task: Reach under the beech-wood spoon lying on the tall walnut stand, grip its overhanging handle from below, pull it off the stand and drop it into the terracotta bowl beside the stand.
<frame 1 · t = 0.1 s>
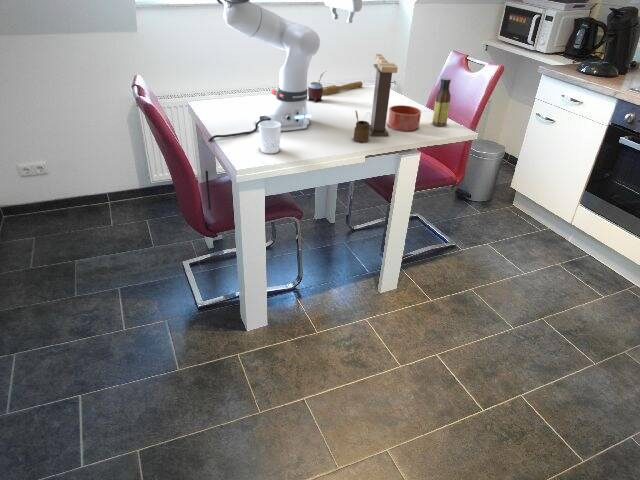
hand: (342, 20, 198), 39 cm above the table, tool pointing down, fingers open, 8 cm apart
bowl: (402, 126, 210), on the table
spoon: (387, 70, 184), point 26 cm above the table, touching stand
white cup: (270, 150, 180), on the table
mate gourd: (315, 100, 235), on the table
wooden mate cup: (360, 140, 193), on the table
stand: (377, 131, 202), on the table
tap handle: (340, 91, 251), on the table
sauce bottle: (438, 124, 214), on the table
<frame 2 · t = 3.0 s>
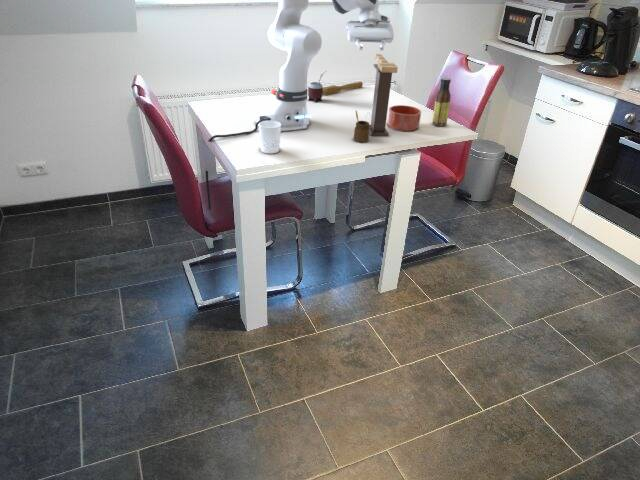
hand: (371, 49, 212), 27 cm above the table, tool tilted 45°, fingers open, 8 cm apart
nothing on the table moved.
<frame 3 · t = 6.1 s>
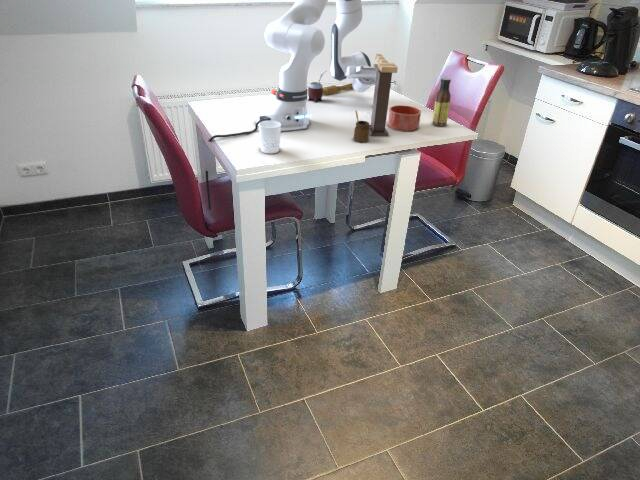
hand: (372, 67, 210), 21 cm above the table, tool pointing upward, fingers open, 8 cm apart
nothing on the table moved.
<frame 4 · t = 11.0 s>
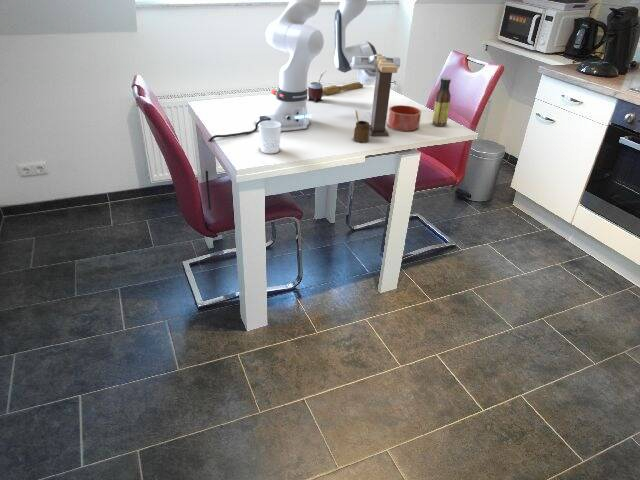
hand: (379, 57, 196), 27 cm above the table, tool pointing upward, fingers closed on spoon, 2 cm apart
spoon: (387, 70, 184), point 26 cm above the table, touching gripper, stand
everything else where it was.
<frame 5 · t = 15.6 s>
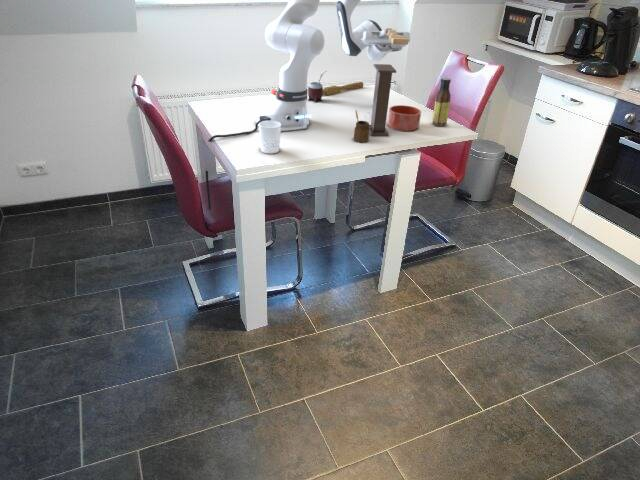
hand: (390, 31, 202), 36 cm above the table, tool pointing upward, fingers closed on spoon, 2 cm apart
spoon: (398, 42, 190), point 34 cm above the table, touching gripper
everything else where it was.
when the fingers open (20 cm above the table, at t = 20.4 s): spoon drops 15 cm and tips over, resting on bowl.
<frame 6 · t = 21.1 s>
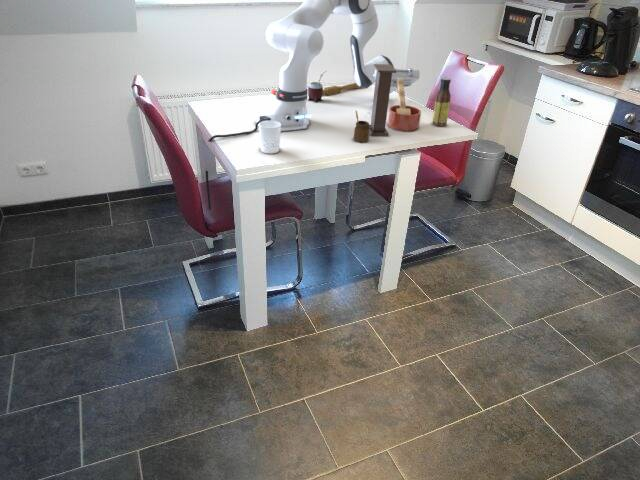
hand: (401, 69, 211), 20 cm above the table, tool pointing upward, fingers open, 8 cm apart
spoon: (402, 117, 209), point 3 cm above the table, tilted 41°, touching bowl
everything else where it was.
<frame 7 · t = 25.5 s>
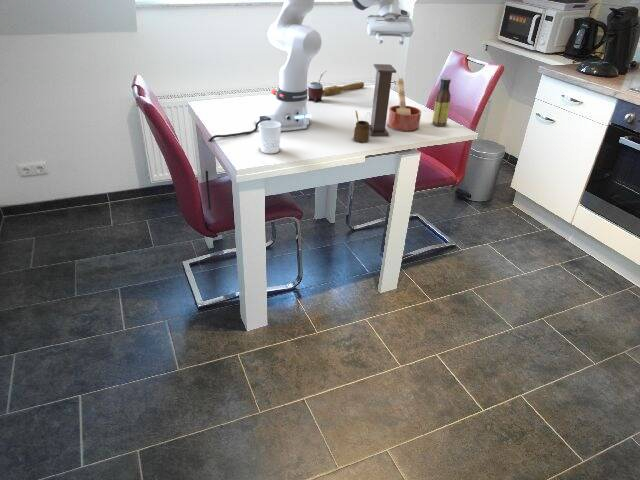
hand: (391, 43, 213), 29 cm above the table, tool tilted 45°, fingers open, 8 cm apart
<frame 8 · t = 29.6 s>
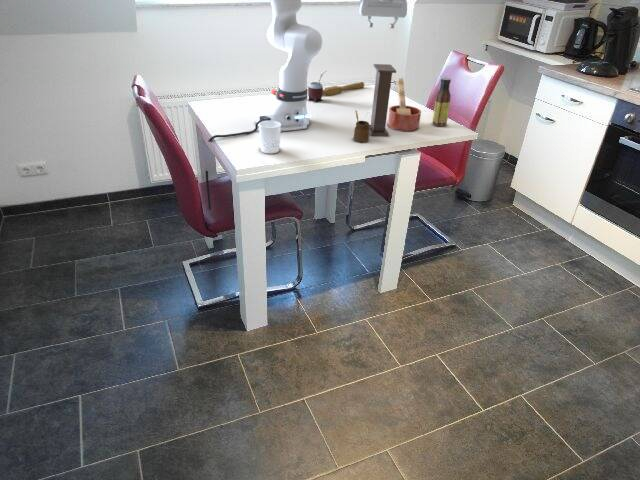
hand: (381, 27, 211), 35 cm above the table, tool pointing down, fingers open, 8 cm apart
at the end: spoon inside the target area in the bowl (1.4 cm from its centre), point 3.1 cm above the bowl's base; spoon touching bowl; the gripper is holding nothing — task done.
